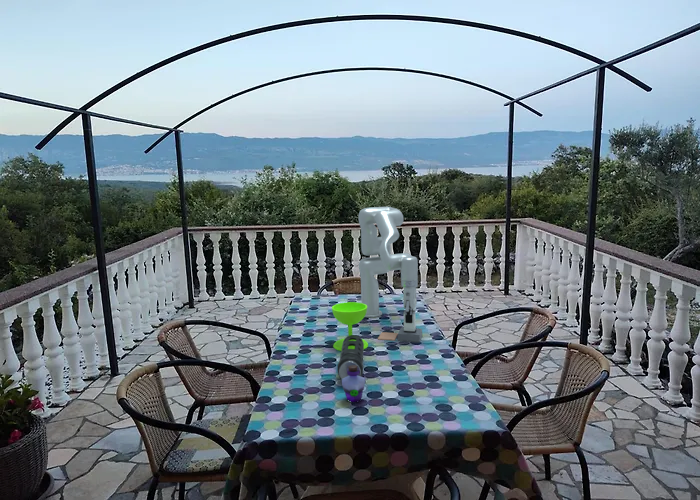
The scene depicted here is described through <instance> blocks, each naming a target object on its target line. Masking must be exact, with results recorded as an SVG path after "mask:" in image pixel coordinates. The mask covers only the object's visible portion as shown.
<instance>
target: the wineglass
mask: <svg viewBox="0 0 700 500" xmlns="http://www.w3.org/2000/svg"><path fill="white" fill-rule="evenodd" d="M331 311H332V312H331V313H332V314H333V317H334V318H335V319H336V321H337V322H339V323H341V324H343V325H347V333H348V334H347V336H350V335H354V334H353V333H354V332H353V325H356V324H359V323H360V322H362V321H363V319H364V318H366V317H365V315H366V312H367V305H365V304H363V303H362V302H356V301H349V302H339V303H336V304H334V305H332V306H331ZM345 338H346V337H344V338H341V339H338V340H336V341H335V342H334V343H333V345H332V347H333V349H335V351H336V350H337V351H340V352H341V350H342V345H343V341H344V339H345ZM361 339H362V340H363V343H364V350H365V349H367V348H368V347H369V343H368V342H367V341H366V340H365V339H363V338H361ZM349 341H356V340H349ZM348 349H355V346H349V347H348Z"/></svg>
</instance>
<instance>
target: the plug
mask: <svg viewBox="0 0 700 500" xmlns="http://www.w3.org/2000/svg"><path fill="white" fill-rule="evenodd" d="M405 314H406V309H404V310H403V314H402V315H403V328H404V331H415V329H416V327H417V325H416V322H417V321H416V310H415V309H413V310H412V323H406V322H405Z"/></svg>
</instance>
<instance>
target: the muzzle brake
mask: <svg viewBox="0 0 700 500" xmlns="http://www.w3.org/2000/svg"><path fill="white" fill-rule="evenodd" d="M344 338H345V339H344ZM344 338H343V339H344V341H343V345H342V350H341V351H340V358H339V361H338V363H337V367H336V369H337V374H338V376H339V378H341V380H342V378H345V377H347V376H349V375H347V369H349V368H348V367H349V366H351V365H357V367H358V369H359V375H358V376H361V377H363V373H364V350H365V349H364V343H363V340H364V339H363V338H361V336H359V335H356V334H353V335H350V336H348V335H347V336H346V337H344ZM362 339H363V340H362ZM349 340H356V341H349ZM349 346H355V349H348V347H349Z"/></svg>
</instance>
